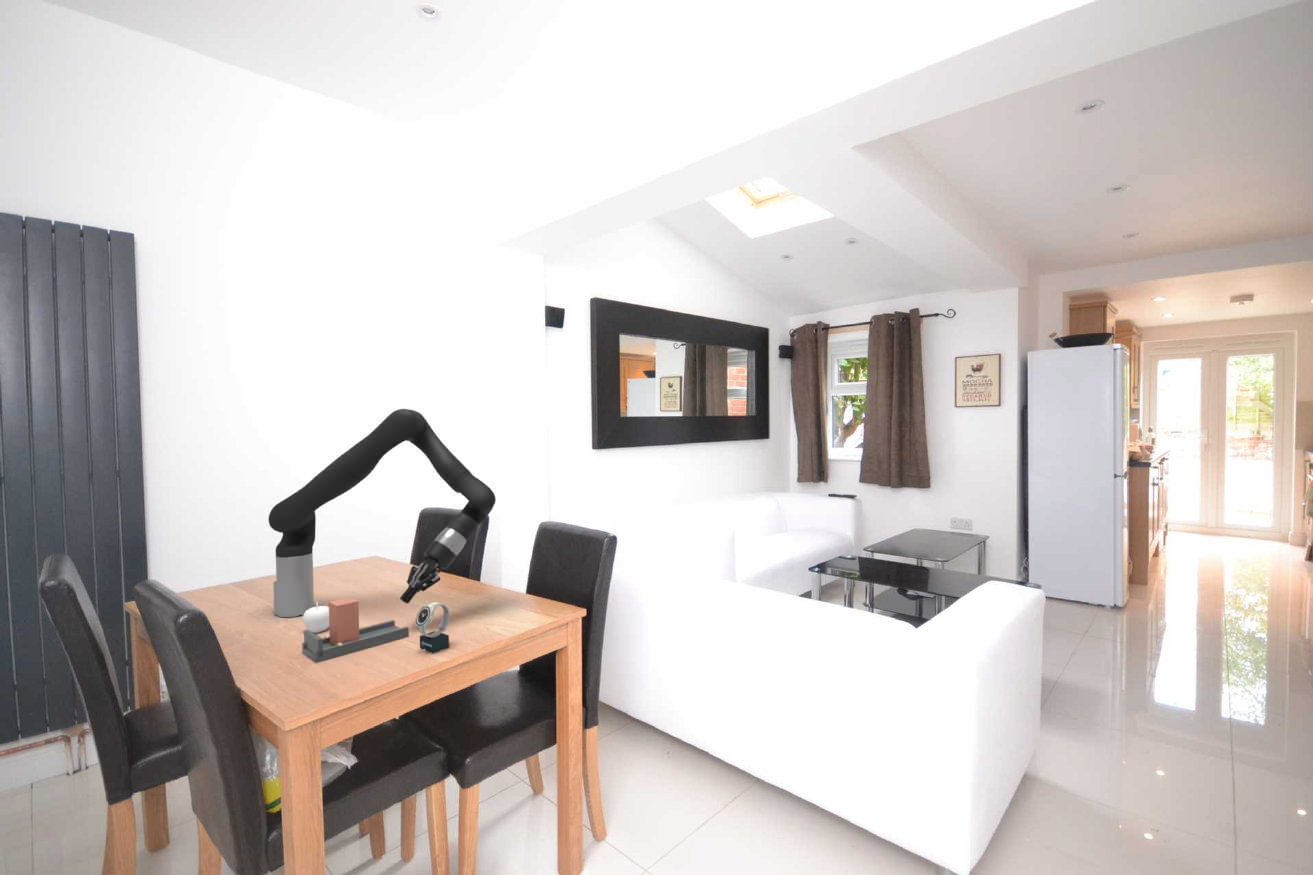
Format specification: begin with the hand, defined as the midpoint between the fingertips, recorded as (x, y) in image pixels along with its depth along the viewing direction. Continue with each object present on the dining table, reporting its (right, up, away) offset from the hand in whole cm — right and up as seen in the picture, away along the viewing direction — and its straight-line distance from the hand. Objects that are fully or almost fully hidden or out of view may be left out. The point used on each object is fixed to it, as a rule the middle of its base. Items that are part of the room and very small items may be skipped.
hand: (403, 601), depth 158 cm
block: (-10, -7, -11) cm, 16 cm away
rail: (-9, -8, -9) cm, 15 cm away
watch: (+12, -9, -12) cm, 19 cm away
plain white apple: (-24, -9, +2) cm, 25 cm away
